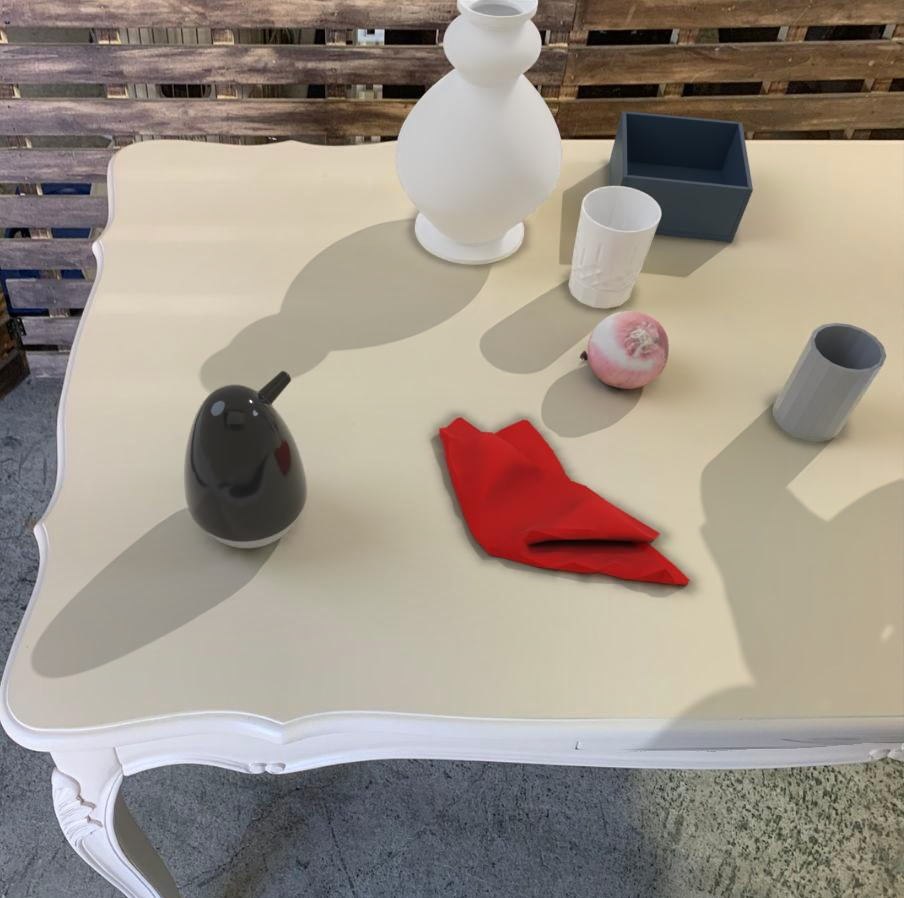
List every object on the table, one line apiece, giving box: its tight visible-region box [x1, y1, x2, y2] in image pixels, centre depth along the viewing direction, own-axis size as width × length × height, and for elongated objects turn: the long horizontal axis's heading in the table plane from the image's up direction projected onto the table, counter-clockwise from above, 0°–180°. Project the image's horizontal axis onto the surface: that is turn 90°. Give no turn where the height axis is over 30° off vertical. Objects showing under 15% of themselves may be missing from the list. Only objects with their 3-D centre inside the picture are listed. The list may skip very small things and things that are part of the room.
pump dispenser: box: [183, 370, 308, 549], centre depth 73 cm, size 10×10×15 cm
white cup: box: [567, 185, 661, 310], centre depth 94 cm, size 8×8×10 cm
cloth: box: [438, 417, 690, 586], centre depth 79 cm, size 26×14×2 cm, turn 36°
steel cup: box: [772, 322, 887, 443], centre depth 83 cm, size 6×6×9 cm
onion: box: [579, 310, 670, 391], centre depth 87 cm, size 8×8×7 cm
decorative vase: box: [394, 0, 563, 265], centre depth 94 cm, size 18×18×25 cm
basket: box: [608, 110, 754, 244], centre depth 105 cm, size 14×14×7 cm
